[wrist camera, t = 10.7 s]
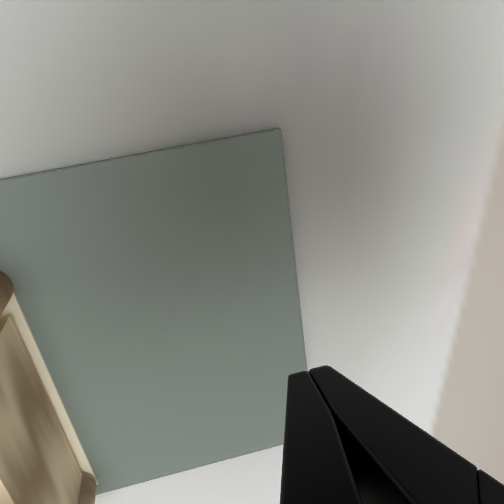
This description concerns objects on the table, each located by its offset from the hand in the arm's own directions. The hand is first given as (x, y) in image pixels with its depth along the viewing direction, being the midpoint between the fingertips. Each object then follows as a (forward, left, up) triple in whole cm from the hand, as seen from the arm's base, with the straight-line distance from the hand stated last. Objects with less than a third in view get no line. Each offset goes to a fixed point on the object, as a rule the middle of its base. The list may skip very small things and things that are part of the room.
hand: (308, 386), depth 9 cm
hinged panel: (+10, -11, -12) cm, 19 cm away
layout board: (+7, -11, -13) cm, 18 cm away
